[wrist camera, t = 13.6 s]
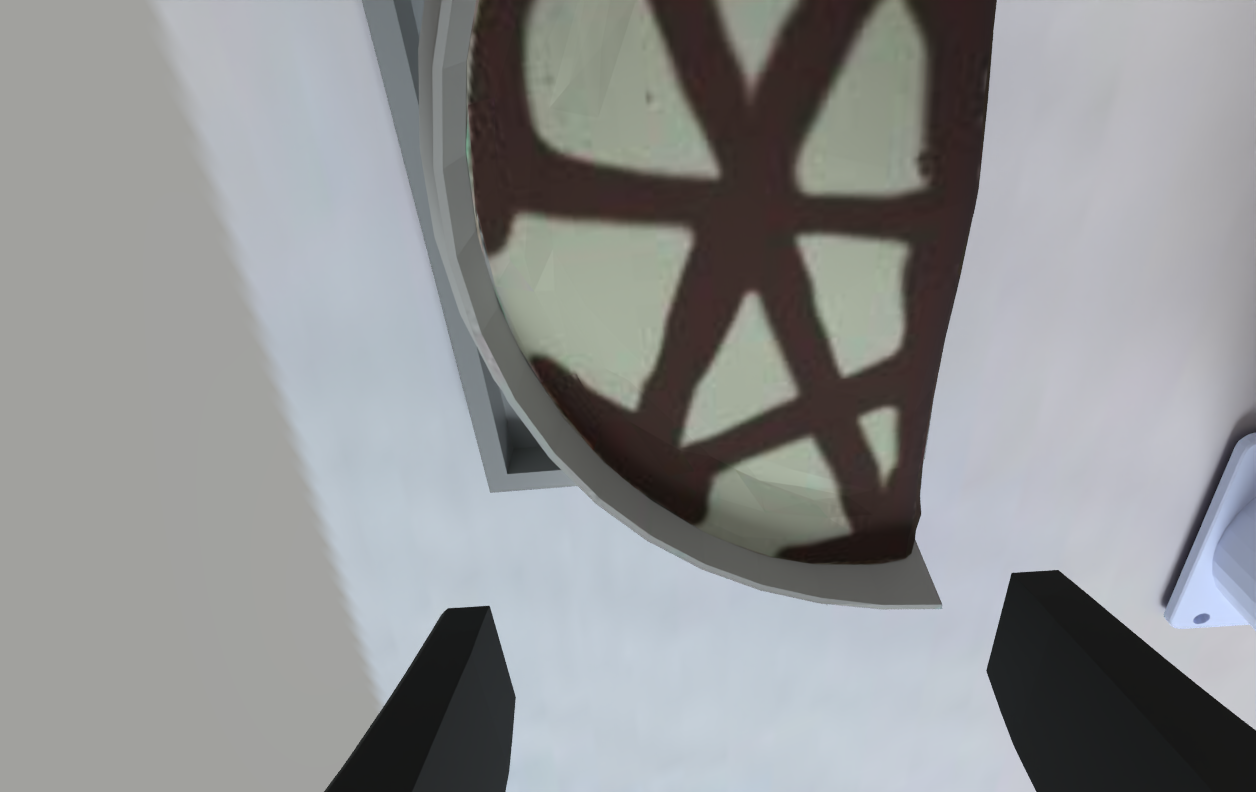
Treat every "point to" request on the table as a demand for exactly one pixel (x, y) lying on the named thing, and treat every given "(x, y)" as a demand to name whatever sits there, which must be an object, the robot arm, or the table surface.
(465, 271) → the food container
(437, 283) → the gray tray
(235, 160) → the table surface
